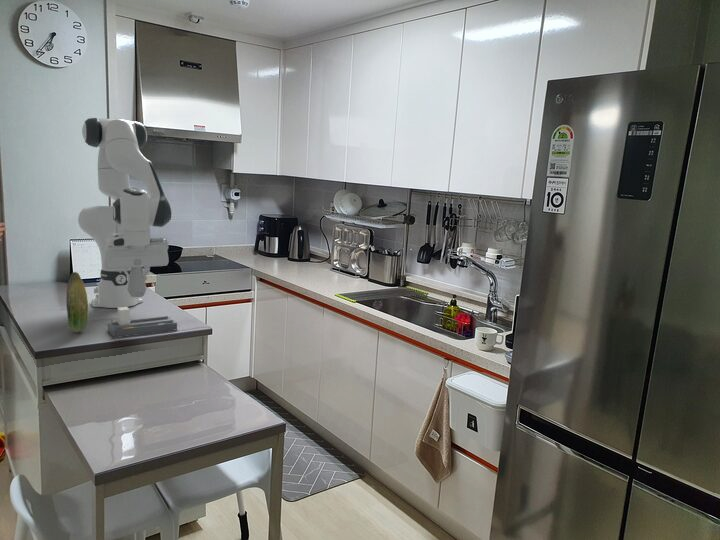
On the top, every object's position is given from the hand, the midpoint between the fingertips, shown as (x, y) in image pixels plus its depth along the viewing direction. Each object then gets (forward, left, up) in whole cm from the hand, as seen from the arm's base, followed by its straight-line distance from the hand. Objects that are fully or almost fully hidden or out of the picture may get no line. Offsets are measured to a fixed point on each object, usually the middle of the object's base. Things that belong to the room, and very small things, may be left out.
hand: (136, 280), depth 177 cm
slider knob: (0, -4, -14) cm, 15 cm away
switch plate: (0, +1, -17) cm, 17 cm away
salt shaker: (0, 0, -5) cm, 5 cm away
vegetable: (-5, -17, -17) cm, 25 cm away
